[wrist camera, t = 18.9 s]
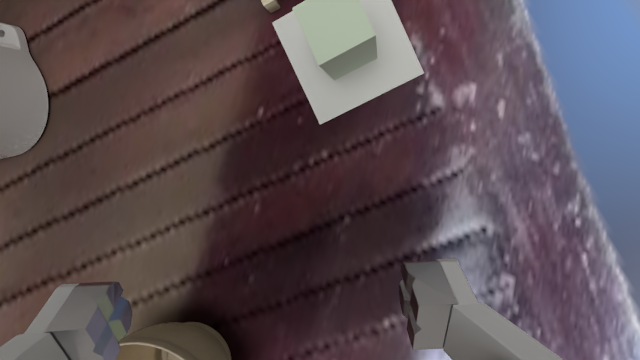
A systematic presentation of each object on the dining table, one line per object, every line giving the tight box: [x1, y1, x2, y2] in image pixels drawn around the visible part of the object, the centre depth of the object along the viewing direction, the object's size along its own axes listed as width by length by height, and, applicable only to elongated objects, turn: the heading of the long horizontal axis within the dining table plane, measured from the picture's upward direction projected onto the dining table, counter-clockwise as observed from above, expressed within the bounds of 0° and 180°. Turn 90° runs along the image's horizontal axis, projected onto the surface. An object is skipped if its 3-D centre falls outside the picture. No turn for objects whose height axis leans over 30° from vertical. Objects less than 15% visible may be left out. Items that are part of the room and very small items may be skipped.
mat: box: [272, 0, 424, 125], centre depth 40 cm, size 12×12×1 cm
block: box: [292, 0, 378, 81], centre depth 35 cm, size 5×5×10 cm
